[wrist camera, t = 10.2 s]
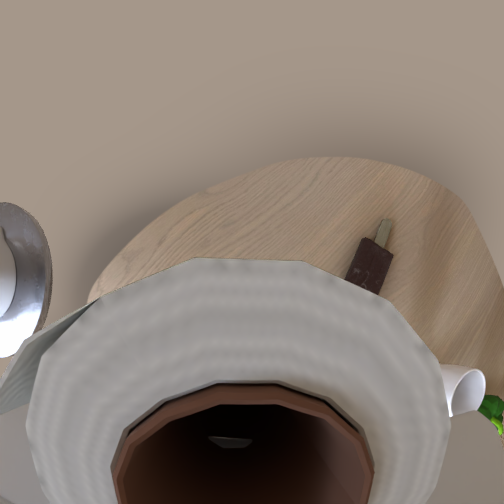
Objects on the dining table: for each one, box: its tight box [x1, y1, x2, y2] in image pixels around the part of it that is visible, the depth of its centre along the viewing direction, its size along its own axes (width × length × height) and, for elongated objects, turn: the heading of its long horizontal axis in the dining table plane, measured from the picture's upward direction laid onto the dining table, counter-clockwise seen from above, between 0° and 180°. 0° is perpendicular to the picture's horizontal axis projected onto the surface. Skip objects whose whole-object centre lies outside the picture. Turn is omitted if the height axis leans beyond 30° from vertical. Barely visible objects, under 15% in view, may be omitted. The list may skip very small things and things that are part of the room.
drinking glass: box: [439, 363, 486, 417], centre depth 32 cm, size 7×7×15 cm
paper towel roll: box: [0, 257, 451, 504], centre depth 13 cm, size 7×6×21 cm
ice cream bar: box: [344, 218, 393, 295], centre depth 41 cm, size 5×2×15 cm
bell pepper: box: [477, 395, 504, 435], centre depth 34 cm, size 8×8×10 cm
